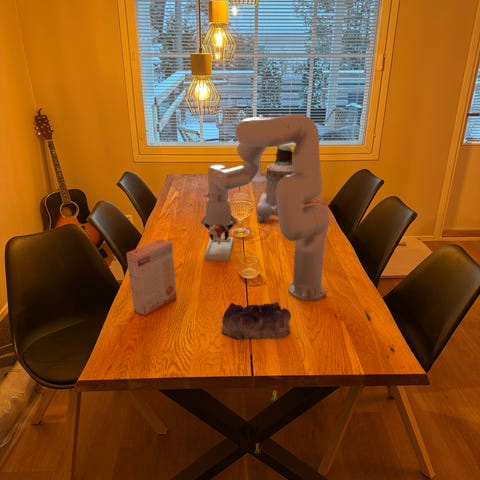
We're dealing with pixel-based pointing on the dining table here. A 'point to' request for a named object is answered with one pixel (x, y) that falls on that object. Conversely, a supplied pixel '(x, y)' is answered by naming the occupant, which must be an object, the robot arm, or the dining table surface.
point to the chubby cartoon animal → (266, 212)
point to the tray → (219, 249)
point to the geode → (256, 321)
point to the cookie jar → (277, 174)
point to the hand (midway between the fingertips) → (219, 238)
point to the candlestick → (259, 175)
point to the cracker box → (152, 276)
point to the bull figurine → (217, 231)
